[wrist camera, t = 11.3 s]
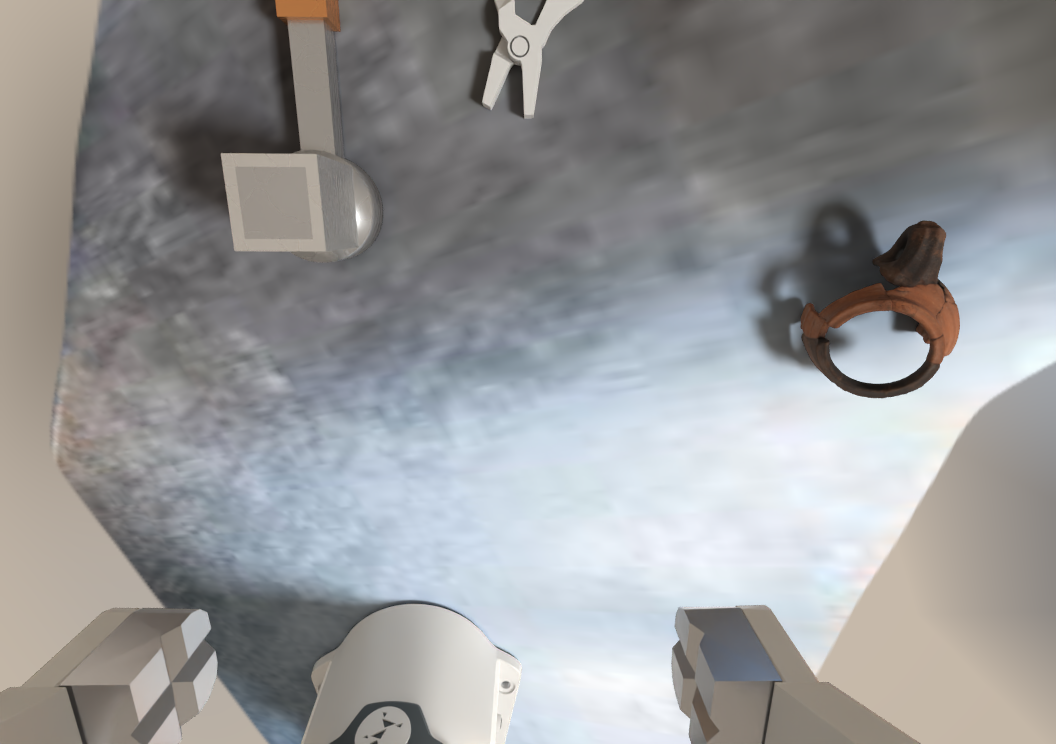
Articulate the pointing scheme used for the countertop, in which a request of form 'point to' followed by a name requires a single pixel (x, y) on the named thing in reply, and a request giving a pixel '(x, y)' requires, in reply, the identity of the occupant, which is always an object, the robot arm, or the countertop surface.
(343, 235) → the white open box
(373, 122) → the countertop surface
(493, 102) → the pliers
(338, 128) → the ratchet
